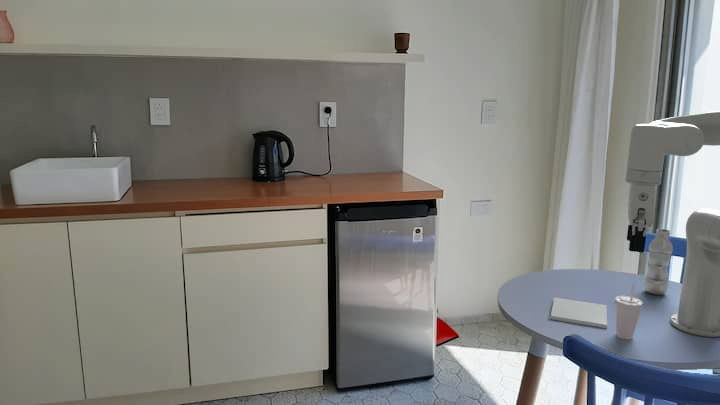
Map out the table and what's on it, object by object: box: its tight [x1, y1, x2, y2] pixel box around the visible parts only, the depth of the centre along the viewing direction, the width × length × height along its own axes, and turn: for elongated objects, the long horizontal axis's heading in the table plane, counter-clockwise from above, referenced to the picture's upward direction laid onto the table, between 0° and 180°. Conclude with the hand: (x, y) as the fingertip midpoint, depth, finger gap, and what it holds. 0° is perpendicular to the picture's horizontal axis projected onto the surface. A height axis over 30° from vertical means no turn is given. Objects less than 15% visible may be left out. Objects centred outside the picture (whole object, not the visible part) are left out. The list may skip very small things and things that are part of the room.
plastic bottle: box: [643, 228, 674, 296], centre depth 161 cm, size 6×7×20 cm
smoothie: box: [613, 283, 644, 340], centre depth 133 cm, size 6×6×14 cm
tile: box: [549, 297, 608, 329], centre depth 148 cm, size 14×14×1 cm
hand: (634, 246), depth 130 cm, fingers open, 9 cm apart
